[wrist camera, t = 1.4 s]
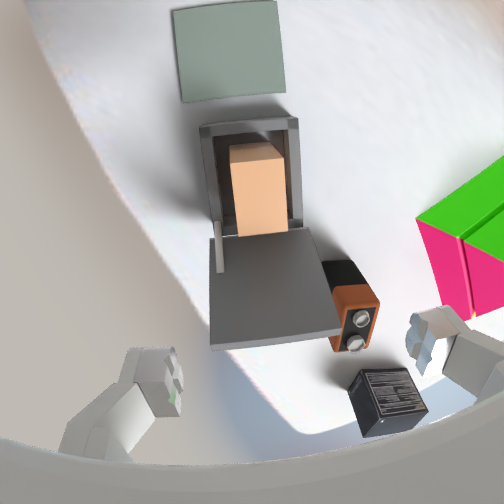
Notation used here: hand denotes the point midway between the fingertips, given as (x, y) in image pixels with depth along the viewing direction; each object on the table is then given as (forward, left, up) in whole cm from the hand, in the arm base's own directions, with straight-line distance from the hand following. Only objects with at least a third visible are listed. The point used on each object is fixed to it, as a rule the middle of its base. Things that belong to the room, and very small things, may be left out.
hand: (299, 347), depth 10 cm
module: (0, 0, -25) cm, 25 cm away
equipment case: (+2, 0, -25) cm, 25 cm away
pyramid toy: (+12, +36, -26) cm, 46 cm away
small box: (+38, +19, -25) cm, 50 cm away
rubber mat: (-13, -1, -25) cm, 28 cm away
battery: (+15, +9, -25) cm, 31 cm away
